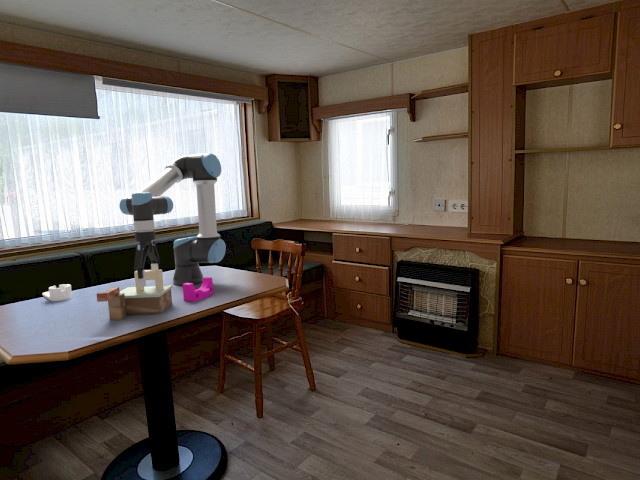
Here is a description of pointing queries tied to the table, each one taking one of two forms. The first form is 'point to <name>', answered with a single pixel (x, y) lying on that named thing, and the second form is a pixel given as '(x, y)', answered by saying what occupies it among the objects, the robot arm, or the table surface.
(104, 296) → the wooden key
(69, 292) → the bracket
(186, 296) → the toy block
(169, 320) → the table surface
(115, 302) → the toolbox
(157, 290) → the lid
